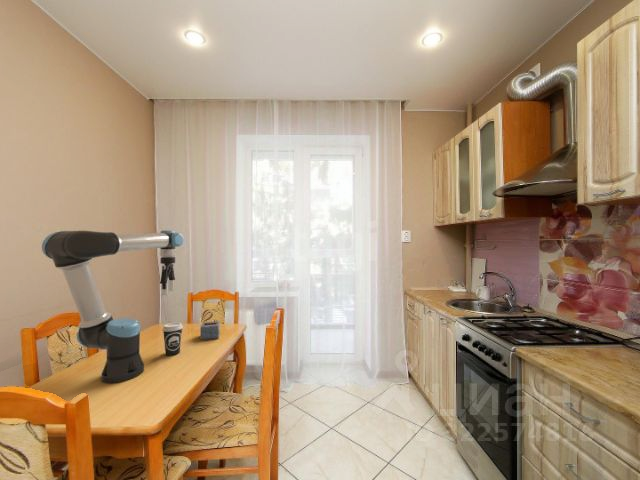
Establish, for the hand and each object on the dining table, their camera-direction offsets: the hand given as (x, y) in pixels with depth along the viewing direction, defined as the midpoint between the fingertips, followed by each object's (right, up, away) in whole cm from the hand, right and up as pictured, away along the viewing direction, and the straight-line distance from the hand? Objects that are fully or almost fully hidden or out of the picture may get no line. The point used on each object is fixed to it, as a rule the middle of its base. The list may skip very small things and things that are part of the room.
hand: (167, 293), depth 155 cm
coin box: (+22, -29, +8) cm, 37 cm away
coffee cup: (+12, -29, -17) cm, 35 cm away
